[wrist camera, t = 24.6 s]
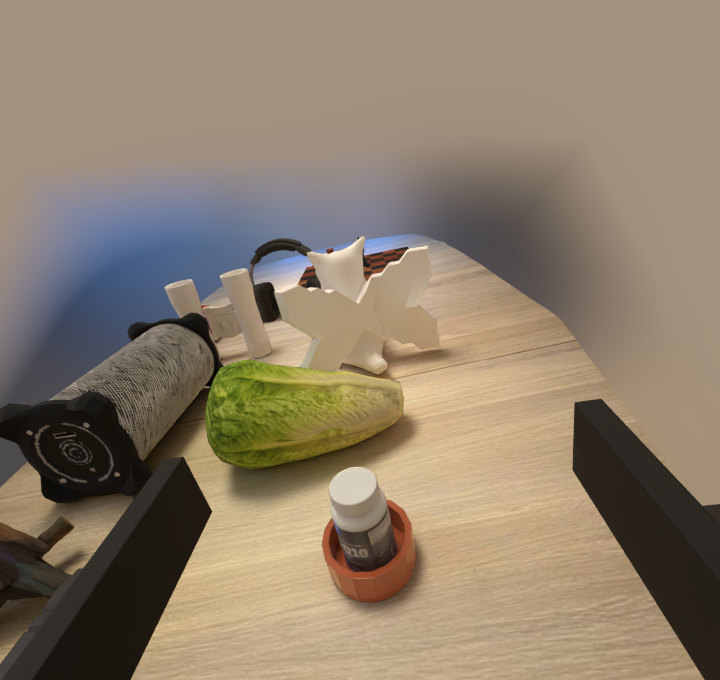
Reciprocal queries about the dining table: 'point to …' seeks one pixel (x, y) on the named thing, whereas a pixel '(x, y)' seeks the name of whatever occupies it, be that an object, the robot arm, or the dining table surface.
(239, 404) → the lettuce
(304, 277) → the chessboard
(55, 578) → the bird figurine
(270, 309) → the headphones
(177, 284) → the binoculars
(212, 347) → the speaker
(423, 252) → the white abstract sculpture
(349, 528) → the pill bottle
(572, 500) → the dining table surface
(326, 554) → the orange cup holder
